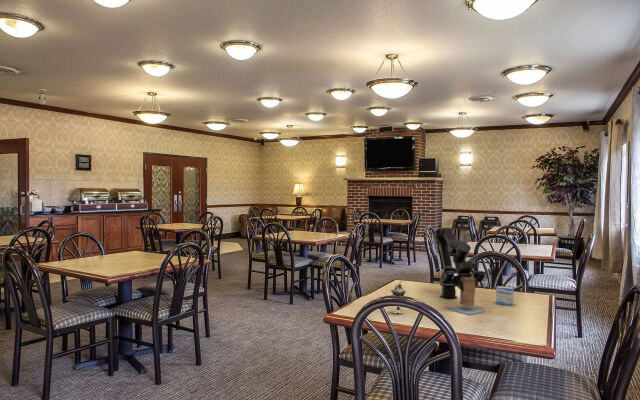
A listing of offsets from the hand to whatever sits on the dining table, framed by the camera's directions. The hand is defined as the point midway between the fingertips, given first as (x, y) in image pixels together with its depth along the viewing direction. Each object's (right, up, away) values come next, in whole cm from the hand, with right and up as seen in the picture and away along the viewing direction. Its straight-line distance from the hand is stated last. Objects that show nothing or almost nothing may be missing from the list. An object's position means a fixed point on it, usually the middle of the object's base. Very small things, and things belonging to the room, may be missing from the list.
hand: (468, 291), depth 218 cm
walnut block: (0, -7, +2) cm, 7 cm away
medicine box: (+23, -10, +15) cm, 29 cm away
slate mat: (0, -9, +1) cm, 10 cm away
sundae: (-34, -9, -4) cm, 35 cm away
